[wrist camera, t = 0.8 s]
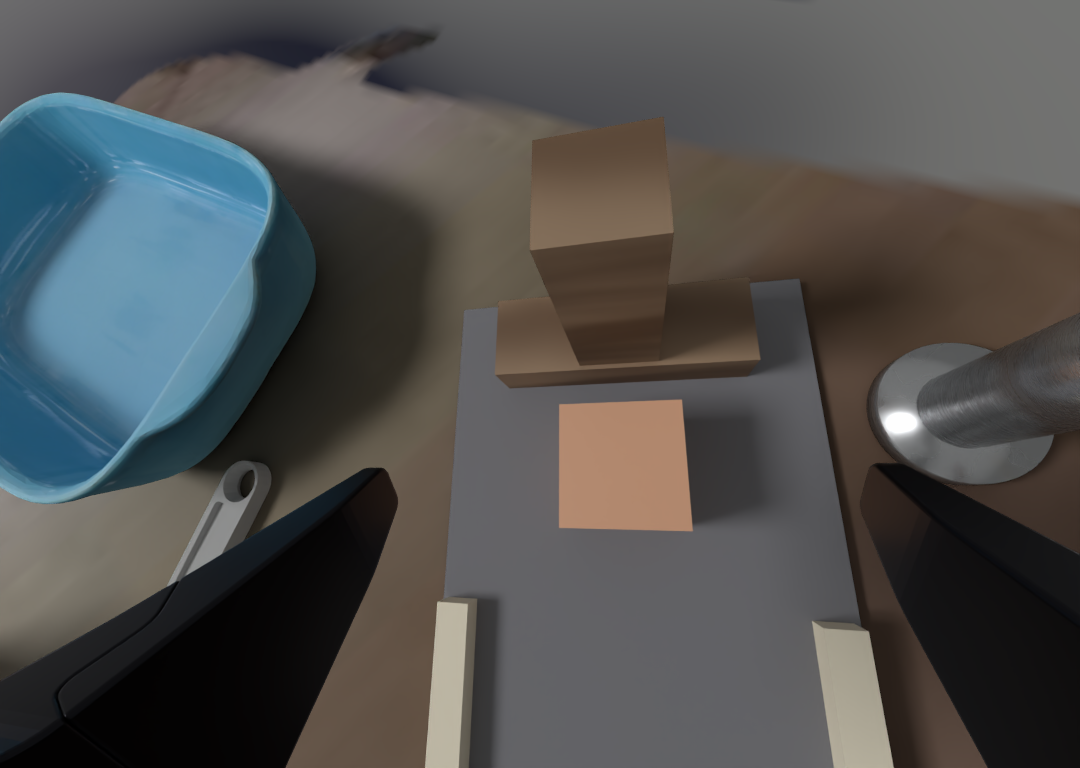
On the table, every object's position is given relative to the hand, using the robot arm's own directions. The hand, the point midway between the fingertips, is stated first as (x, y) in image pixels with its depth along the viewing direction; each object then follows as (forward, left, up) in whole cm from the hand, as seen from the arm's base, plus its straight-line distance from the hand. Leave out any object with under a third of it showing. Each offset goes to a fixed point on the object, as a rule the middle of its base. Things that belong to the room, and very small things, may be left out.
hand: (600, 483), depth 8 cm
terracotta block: (+1, -1, -13) cm, 13 cm away
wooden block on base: (+5, -6, -13) cm, 15 cm away
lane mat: (-1, +1, -13) cm, 13 cm away
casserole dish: (+34, +14, -14) cm, 40 cm away
